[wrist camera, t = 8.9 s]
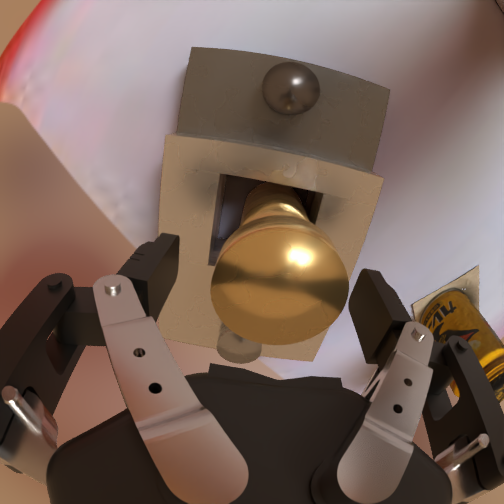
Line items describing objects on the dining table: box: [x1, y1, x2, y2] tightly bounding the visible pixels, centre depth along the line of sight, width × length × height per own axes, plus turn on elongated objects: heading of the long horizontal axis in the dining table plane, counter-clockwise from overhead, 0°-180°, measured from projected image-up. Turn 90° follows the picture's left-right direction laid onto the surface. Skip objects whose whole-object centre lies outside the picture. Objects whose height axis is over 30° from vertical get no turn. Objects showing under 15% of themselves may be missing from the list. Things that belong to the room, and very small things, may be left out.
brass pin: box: [210, 182, 349, 345], centre depth 15 cm, size 5×5×10 cm
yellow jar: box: [413, 265, 504, 403], centre depth 17 cm, size 7×8×12 cm
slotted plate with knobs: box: [158, 47, 390, 364], centre depth 17 cm, size 12×20×6 cm, turn 170°
